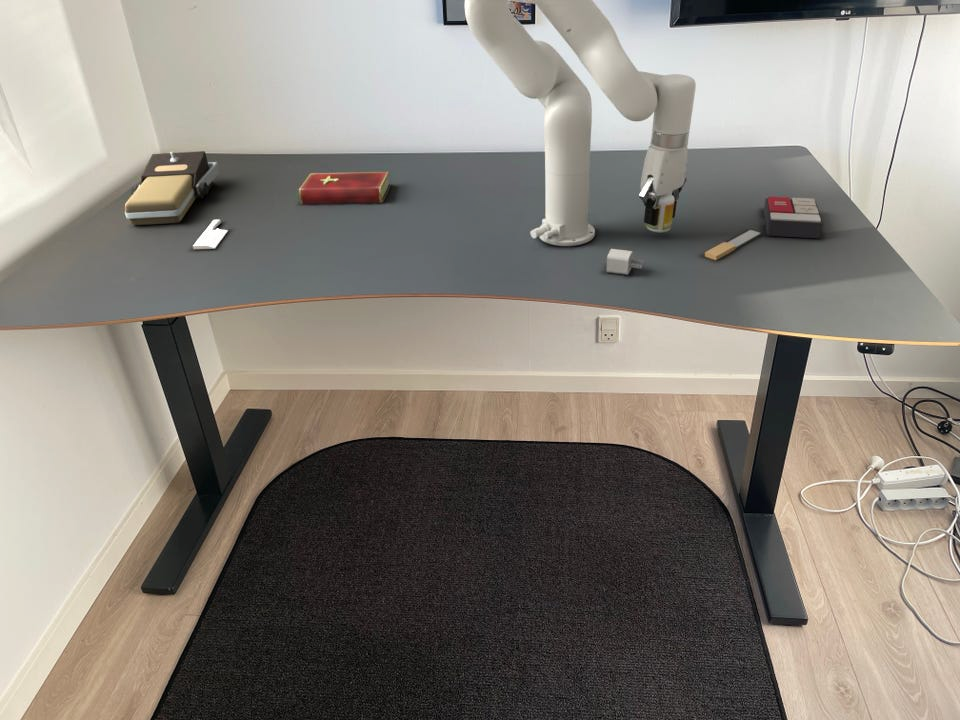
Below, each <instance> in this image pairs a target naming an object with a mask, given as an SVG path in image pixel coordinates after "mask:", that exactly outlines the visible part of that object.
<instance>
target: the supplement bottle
mask: <svg viewBox="0 0 960 720" xmlns="http://www.w3.org/2000/svg"><path fill="white" fill-rule="evenodd" d="M653 192H654V193H655V190H653ZM672 192H673V191H671V192H668V193H666V194H663V195H661V198H660V201H659V204H658V207H657V208H659V214H658V222H657V225H656V226H652V225H649V224H647V223H645V227H646V228H647V230H649V231H650V232H653V233H666V232H668V231H670V230H671V229H672V221H673V218H672V216H673V209H674V201H675V198H674V196H673V195H672ZM651 199H652V200H653V201H654V200H655V196H652V197H651Z"/></svg>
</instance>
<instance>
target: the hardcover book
mask: <svg viewBox="0 0 960 720" xmlns="http://www.w3.org/2000/svg"><path fill="white" fill-rule="evenodd" d="M389 174H390V172H389V171H364V172H363V171H362V172H361V171H360V172H358V171H357V172H314V173H313V172H311V173H309V175H308V176H307V177H306V179H305V180H304V181H303V182H302V184H301V186H300V187H299V188H298V197H299V202H300V204H301V205H329V204H330V205H339V204H341V205H343V204H345V205H346V204H383V202H384V201H385V198H386V197H387V194H388V193H389V190H390V188H391V184H389V177H388V176H389Z"/></svg>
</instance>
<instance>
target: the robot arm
mask: <svg viewBox="0 0 960 720" xmlns="http://www.w3.org/2000/svg"><path fill="white" fill-rule="evenodd" d="M510 2H514V3H515V2H516V3H522V4H523V3H525V4H526V3H527V4H533V5H536V6H537V7H538V9H539V10H540V12H541V13H542V14H543V15H544V17H546V19H547V20H548V21H549V22H550V24H551V25H552V26H553V27H554V29H555V30H556V32H558V34H559V35H560V36H561V38H562V39H563V40H564V42H566V44H567V45H568V47H570V48H571V50H572V51H573V52H574V54H575V55H576V57H577V58H578V59H579V61H580V63H581V64H582V66H583V67H584V68H585V70H587V72H588V73H589V75H590V76H591V78H592V79H593V80H594V81H595V84H596V85H597V86H598V87H599V88H600V89H599V90H601V91H602V93H603V94H604V95H605V96H606V98H607V99H608V100H609V101H610V103H611V104H612V105H613V106H614V108H615V109H616V110H617V111H618V112H619V113H620V115H622V117H623V118H625V119H627V120H628V121H631V122H643V121H645V120H647V119H649V118H650V117H651V116H653V119H652V128H651V135H650V145H649V146H648V148H647V150H646V154H645V157H644V160H643V167H642V172H641V178H640V186H639V189H640V193H639V194H638V198H639V199H640V200H641V201H642V203H643V207H645V208H644V217H643V222H644V223H645V224H646V223H647V224H649V225H652V226H656V225H657V222H658V214H659V208H657V207H658V204H659V201H660V198H661V195H663V194H666V193H668V192H671V191H673V192H672V195H673V196H674V198H675V201H674V209H673V216H672V219H675V216H676V211H677V204H678V200H679V199H680V193H681V191H682V190H683V187H684V186H685V184H686V183H687V176H686V174H687V166H688V144H689V137H690V130H691V123H692V116H693V109H694V103H695V94H696V84H697V83H696V81H695V79H694V78H693V77H692V76H690V75H686V74H678V73H677V74H676V73H673V74H671V73H670V74H658V73H653V72H648V71H647V72H646V71H641V70H638V68H637V67H636V65H635V64H634V63H633V61H631V59H630V57H629V56H628V54H627V53H626V51H625V49H624V48H623V46H622V44H621V42H620V40H619V37H618V36H617V33H616V31H615V29H614V27H613V25H612V23H611V22H610V20H609V19H608V17H606V16H605V14H604V13H603V12H602V10H601V9H600V8H599V7H598V6H597V4H596V3H595V2H594V1H593V0H464V15H465V20H466V23H467V25H468V28H469V30H470V32H471V35H473V37H474V38H475V40H476V41H477V42H478V44H479V45H480V46H481V48H483V49H484V51H485V52H486V53H487V54H488V56H489V57H490V58H491V60H492V61H493V62H494V63H495V64H496V66H497V67H498V68H499V69H500V71H502V73H503V74H504V75H505V76H506V77H507V79H508V80H509V81H510V83H511V84H512V85H513V86H514V87H515V89H516V90H517V91H518V92H519V93H520V94H521V95H523V96H524V97H525V98H528V99H532V100H533V99H534V100H536V99H537V100H538V101H539V103H540V104H541V105H542V106H543V107H544V108H545V111H544V117H543V118H544V119H543V131H544V161H545V162H544V169H545V172H544V173H545V174H544V175H545V176H544V177H545V178H544V179H545V180H544V181H545V186H544V187H545V188H544V190H545V191H544V193H545V198H544V199H545V202H544V204H545V206H544V207H545V210H544V211H545V213H544V217H545V218H542V220H541V224H540V225H539V227H536V228H534V229H532V230H530V232H529V234H530V237H531V238H532V239H537V238H539V239H540V240H541V241H542V242H544V243H546V244H549V245H552V246H558V247H574V246H575V247H576V246H580V245H583V244H586V243H589V242H590V241H592V240H593V239H594V238H595V235H596V229H595V228H594V226H593V225H592V224H590V223H589V207H590V176H591V174H590V173H591V140H592V139H591V138H592V126H593V107H592V104H593V103H592V96H591V94H590V91H589V89H588V87H587V86H586V85H585V84H584V82H583V81H582V80H581V79H580V77H579V76H578V74H576V73H575V72H574V70H573V69H572V67H571V66H570V65H569V63H568V62H566V60H565V59H564V58H563V57H562V56H561V54H560V53H559V52H558V50H556V49H555V47H553V46H552V45H551V44H549V42H545V41H543V40H535V39H534V38H533V36H531V35H530V34H529V32H528V31H527V29H526V28H525V27H524V25H523V24H522V23H521V22H520V21H519V20H518V19H517V18H516V17H515V16H514V14H513V13H512V11H511V10H510ZM654 190H655V193H654ZM652 196H655V200H654V201H653V200H652V199H651V197H652Z"/></svg>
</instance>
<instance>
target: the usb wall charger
mask: <svg viewBox="0 0 960 720" xmlns="http://www.w3.org/2000/svg"><path fill="white" fill-rule="evenodd" d="M633 252H634V251H632V250H625V249H615V248H611V249H610V250H609V251H608V254H607V257H606V273H607V274H608V273H610V274H617V275H622V276H623V275H624V276H629V274H630V272H631V271H632V269H643V266H642V265H644V264H645V260H641V259H635V258H633V254H634V253H633Z"/></svg>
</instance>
